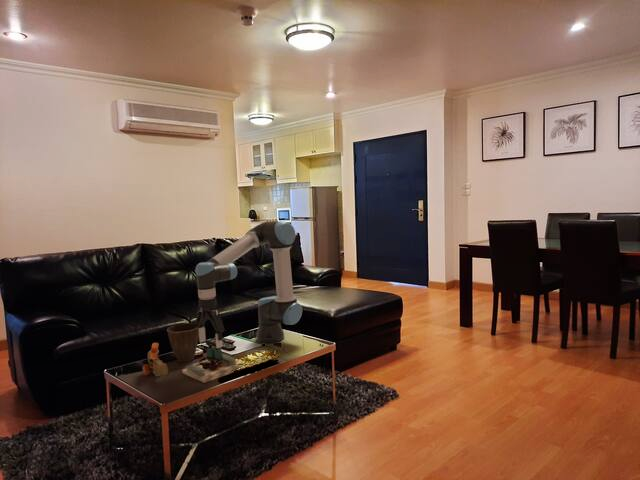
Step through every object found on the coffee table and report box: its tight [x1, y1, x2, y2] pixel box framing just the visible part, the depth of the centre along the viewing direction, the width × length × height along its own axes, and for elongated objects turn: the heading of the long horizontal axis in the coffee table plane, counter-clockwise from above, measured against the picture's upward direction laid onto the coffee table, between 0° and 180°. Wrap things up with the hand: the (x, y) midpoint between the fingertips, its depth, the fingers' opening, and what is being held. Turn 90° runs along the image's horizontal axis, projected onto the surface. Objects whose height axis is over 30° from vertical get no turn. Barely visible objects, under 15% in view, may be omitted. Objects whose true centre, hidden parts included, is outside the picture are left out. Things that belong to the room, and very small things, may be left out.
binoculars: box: [198, 342, 223, 370], centre depth 197 cm, size 9×11×10 cm
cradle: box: [181, 354, 242, 384], centre depth 198 cm, size 19×18×4 cm
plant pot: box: [166, 322, 199, 363], centre depth 214 cm, size 15×15×16 cm
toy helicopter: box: [142, 342, 169, 378], centre depth 193 cm, size 8×21×14 cm, turn 39°
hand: (210, 344), depth 197 cm, fingers open, 13 cm apart
